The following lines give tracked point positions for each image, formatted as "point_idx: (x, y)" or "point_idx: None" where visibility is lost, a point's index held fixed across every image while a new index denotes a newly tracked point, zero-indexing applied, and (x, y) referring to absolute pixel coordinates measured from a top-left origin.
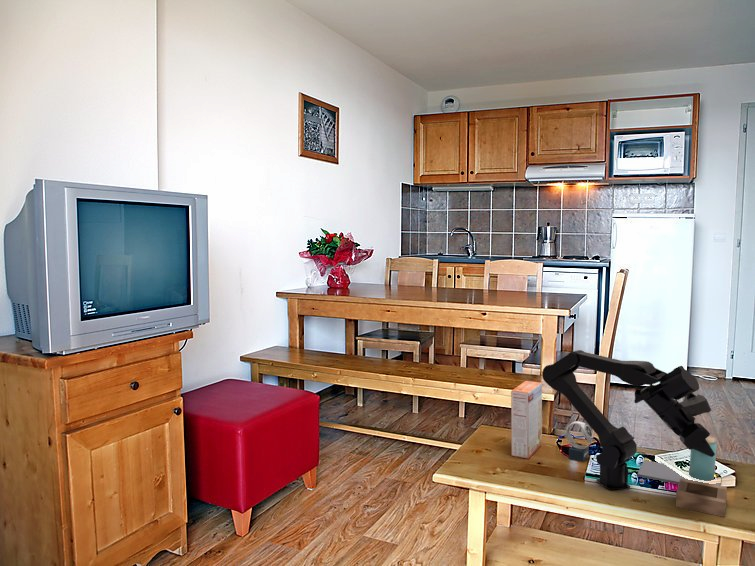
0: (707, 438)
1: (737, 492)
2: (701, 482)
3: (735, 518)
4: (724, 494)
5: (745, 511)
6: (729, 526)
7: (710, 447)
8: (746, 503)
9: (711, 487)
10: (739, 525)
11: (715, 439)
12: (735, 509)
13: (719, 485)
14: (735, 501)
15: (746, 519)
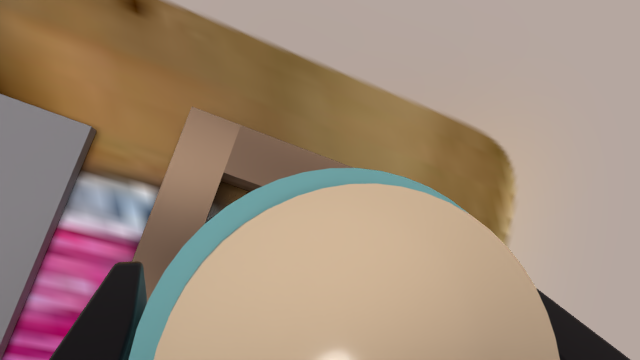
0: (394, 338)
1: (52, 14)
2: (141, 257)
3: (411, 157)
4: (324, 165)
5: (319, 77)
6: (499, 214)
7: (586, 329)
8: (213, 29)
9: (208, 209)
10: (478, 165)
11: (415, 190)
12: (306, 119)
13: (7, 101)
14: (197, 79)
15: (410, 109)
